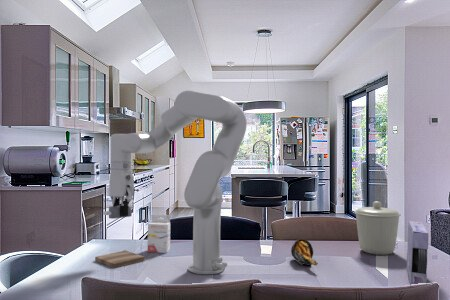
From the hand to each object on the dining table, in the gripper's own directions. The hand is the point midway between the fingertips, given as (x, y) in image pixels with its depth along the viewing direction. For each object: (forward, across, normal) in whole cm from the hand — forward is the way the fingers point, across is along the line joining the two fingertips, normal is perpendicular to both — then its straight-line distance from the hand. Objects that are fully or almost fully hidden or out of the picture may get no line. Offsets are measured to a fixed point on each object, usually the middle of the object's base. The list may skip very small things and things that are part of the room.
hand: (120, 214), depth 146 cm
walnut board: (+17, 0, 0) cm, 17 cm away
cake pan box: (+18, -88, -54) cm, 105 cm away
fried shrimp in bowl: (+18, -53, -44) cm, 71 cm away
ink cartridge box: (+17, +1, -19) cm, 26 cm away
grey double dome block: (+1, 0, 0) cm, 1 cm away
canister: (+18, -65, -81) cm, 105 cm away
